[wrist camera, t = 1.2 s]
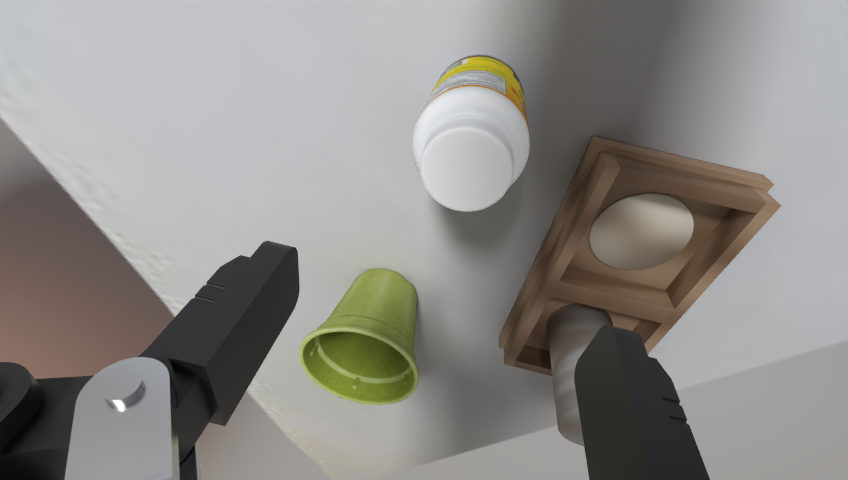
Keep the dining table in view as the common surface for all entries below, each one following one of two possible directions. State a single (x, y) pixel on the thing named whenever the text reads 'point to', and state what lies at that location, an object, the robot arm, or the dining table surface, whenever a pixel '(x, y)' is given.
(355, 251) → the dining table surface
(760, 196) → the caddy
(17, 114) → the dining table surface
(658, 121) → the dining table surface
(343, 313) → the plant pot
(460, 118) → the supplement bottle
